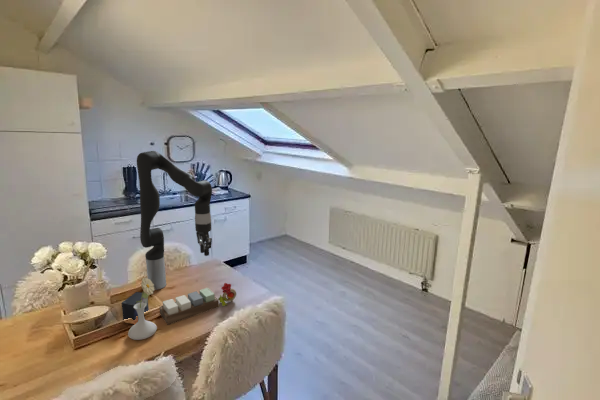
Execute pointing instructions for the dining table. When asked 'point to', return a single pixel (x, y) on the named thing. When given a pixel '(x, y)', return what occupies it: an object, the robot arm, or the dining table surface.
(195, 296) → the key slate
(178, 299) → the key ivory inner
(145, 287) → the flower in vase
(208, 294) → the key sage
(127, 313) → the small box
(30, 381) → the dining table surface
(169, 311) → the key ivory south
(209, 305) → the keybed
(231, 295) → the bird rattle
